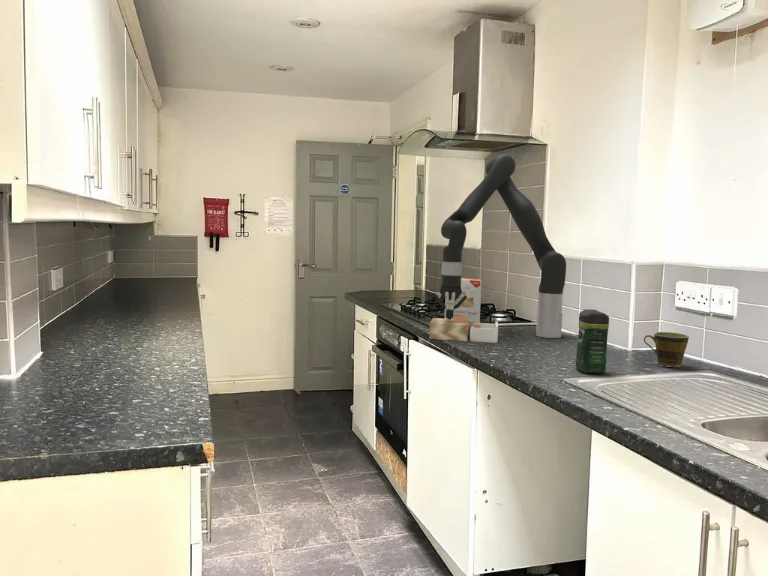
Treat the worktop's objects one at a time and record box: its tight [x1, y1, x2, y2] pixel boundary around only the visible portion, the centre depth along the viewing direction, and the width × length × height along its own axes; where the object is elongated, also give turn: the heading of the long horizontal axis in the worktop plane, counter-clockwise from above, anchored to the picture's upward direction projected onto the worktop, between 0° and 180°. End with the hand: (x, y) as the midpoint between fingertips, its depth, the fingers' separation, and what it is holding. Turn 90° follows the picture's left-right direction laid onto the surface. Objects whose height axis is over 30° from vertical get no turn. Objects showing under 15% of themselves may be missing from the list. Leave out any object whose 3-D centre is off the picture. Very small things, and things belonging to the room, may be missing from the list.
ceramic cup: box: [643, 331, 690, 367], centre depth 194 cm, size 13×10×10 cm
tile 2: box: [474, 322, 482, 328], centre depth 230 cm, size 5×5×2 cm
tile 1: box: [453, 314, 468, 323], centre depth 231 cm, size 5×5×2 cm
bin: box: [469, 321, 499, 344], centre depth 230 cm, size 10×12×6 cm
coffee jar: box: [575, 308, 610, 374], centre depth 183 cm, size 10×8×19 cm
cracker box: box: [443, 277, 483, 332], centre depth 249 cm, size 14×6×21 cm, turn 75°
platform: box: [429, 317, 469, 342], centre depth 232 cm, size 14×12×6 cm
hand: (449, 319), depth 232 cm, fingers closed
